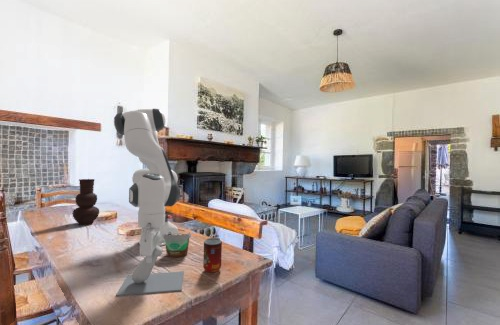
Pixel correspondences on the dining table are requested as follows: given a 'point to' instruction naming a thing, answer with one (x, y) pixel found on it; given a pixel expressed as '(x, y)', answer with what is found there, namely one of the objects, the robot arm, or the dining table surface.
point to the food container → (177, 245)
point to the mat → (153, 284)
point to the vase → (86, 203)
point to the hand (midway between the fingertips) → (150, 259)
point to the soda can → (212, 255)
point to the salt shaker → (145, 267)
